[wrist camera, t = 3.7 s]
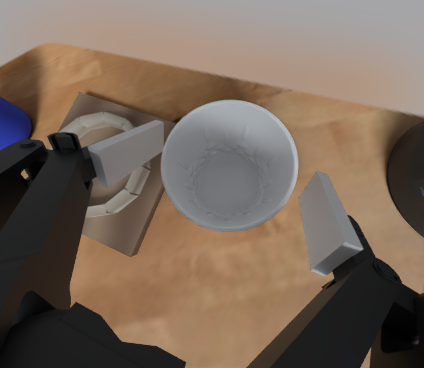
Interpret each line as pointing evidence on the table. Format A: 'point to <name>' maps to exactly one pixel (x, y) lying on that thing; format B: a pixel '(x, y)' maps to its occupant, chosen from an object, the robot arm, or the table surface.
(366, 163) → the table surface
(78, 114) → the brown flat ringed piece
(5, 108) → the mug
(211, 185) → the white cup
